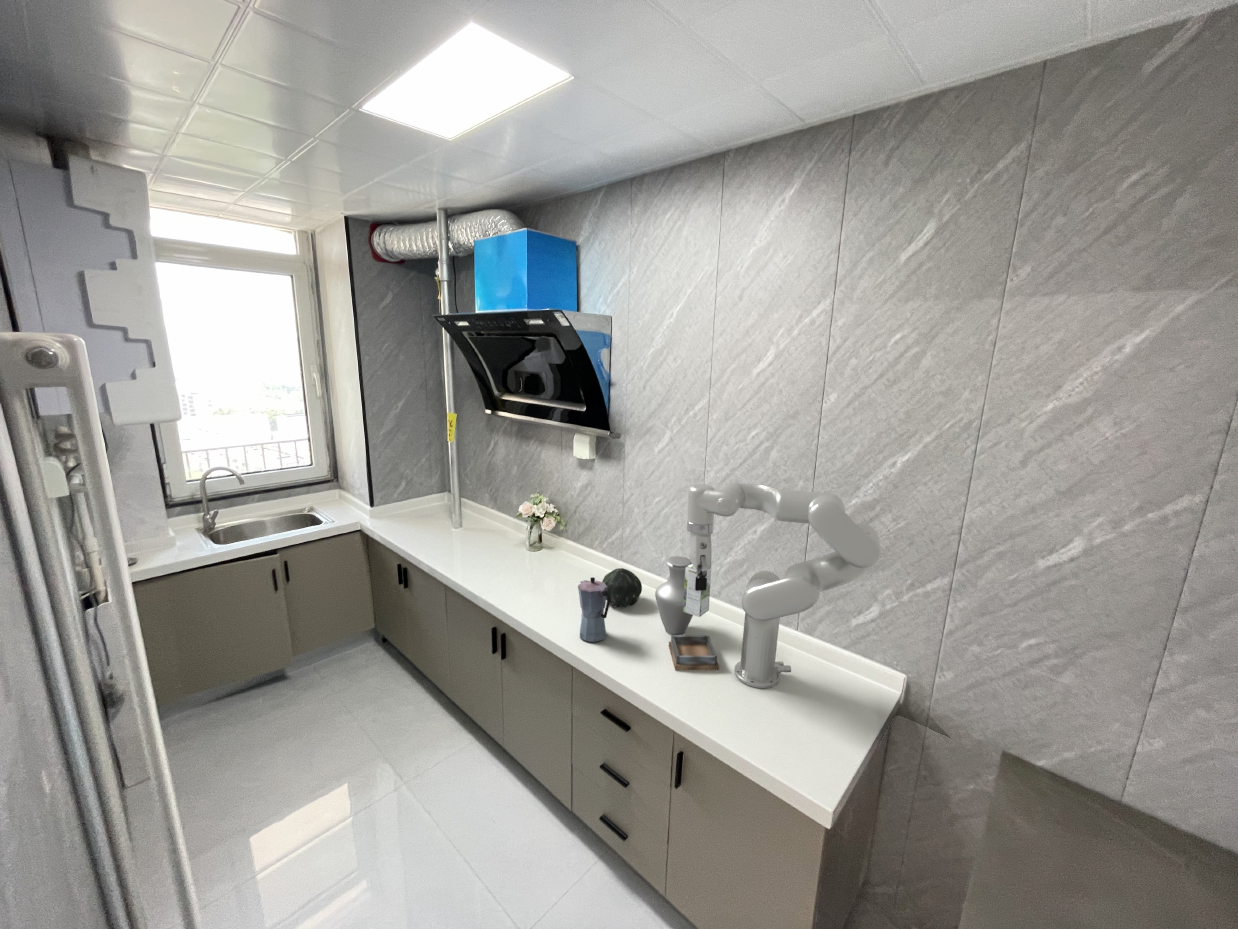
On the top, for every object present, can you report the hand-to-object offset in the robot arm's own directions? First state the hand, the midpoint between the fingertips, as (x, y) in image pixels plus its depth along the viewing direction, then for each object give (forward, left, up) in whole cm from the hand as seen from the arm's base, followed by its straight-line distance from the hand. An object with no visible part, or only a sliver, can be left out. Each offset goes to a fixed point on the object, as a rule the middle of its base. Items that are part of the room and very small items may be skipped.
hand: (697, 583), depth 152 cm
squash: (+20, -36, -25) cm, 48 cm away
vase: (+3, -16, -25) cm, 30 cm away
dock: (0, 0, -25) cm, 25 cm away
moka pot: (+30, -13, -25) cm, 41 cm away
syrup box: (0, 0, -9) cm, 9 cm away
